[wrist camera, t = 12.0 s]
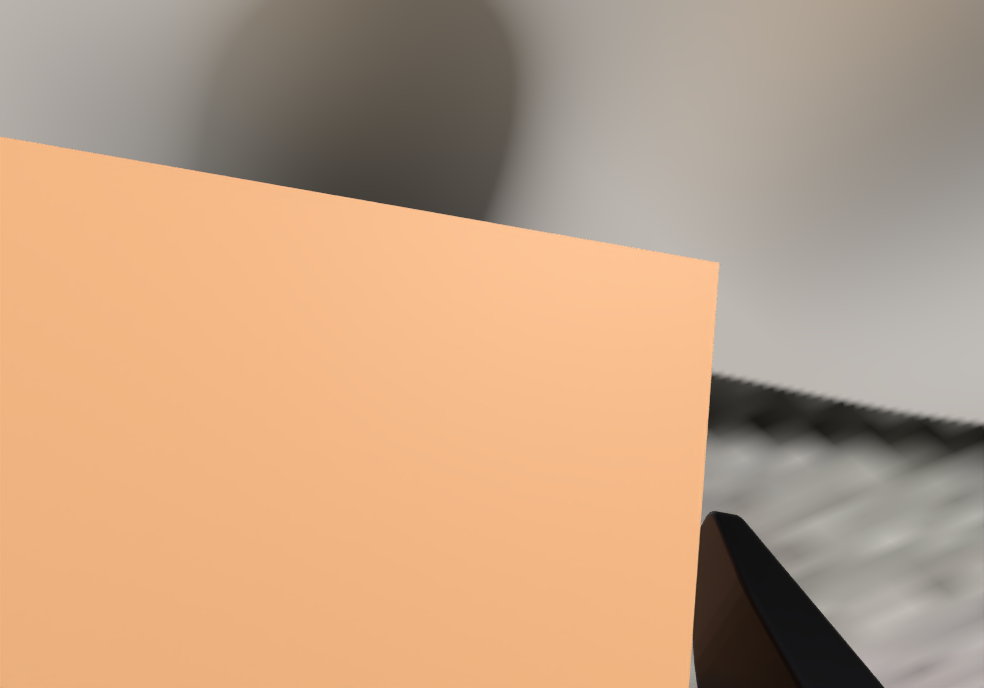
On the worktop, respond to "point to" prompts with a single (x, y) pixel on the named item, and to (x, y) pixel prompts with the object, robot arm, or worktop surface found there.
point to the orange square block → (337, 440)
